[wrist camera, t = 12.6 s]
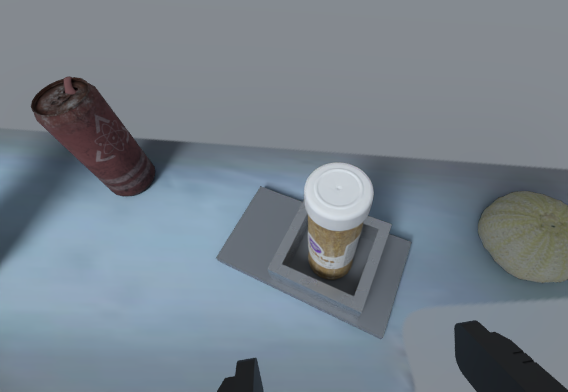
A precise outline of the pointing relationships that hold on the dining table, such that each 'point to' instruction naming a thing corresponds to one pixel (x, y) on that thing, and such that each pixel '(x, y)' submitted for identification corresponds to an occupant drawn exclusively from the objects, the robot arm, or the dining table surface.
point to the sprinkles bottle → (335, 216)
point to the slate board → (266, 240)
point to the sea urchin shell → (527, 236)
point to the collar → (317, 289)
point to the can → (93, 135)
